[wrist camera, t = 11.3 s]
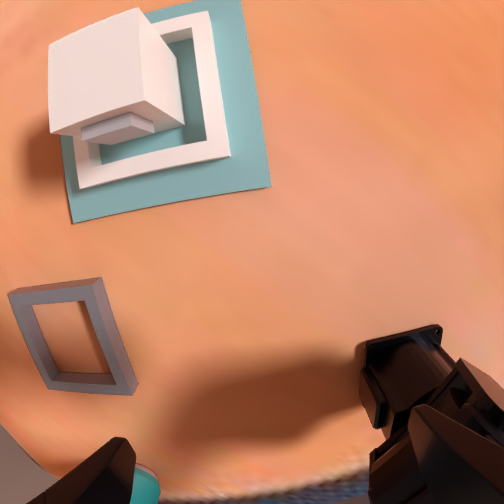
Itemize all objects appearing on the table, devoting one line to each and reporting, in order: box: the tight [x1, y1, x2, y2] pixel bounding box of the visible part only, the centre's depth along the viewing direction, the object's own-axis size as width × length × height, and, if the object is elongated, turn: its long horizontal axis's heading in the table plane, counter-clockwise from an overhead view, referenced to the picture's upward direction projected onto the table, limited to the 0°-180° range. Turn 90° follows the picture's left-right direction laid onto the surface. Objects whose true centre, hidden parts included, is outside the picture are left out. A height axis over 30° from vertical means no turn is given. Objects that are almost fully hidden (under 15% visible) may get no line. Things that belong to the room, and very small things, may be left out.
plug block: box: [48, 7, 186, 145], centre depth 13 cm, size 4×5×7 cm
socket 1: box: [8, 277, 138, 396], centre depth 20 cm, size 9×9×2 cm
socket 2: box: [60, 0, 271, 223], centre depth 15 cm, size 13×13×2 cm
